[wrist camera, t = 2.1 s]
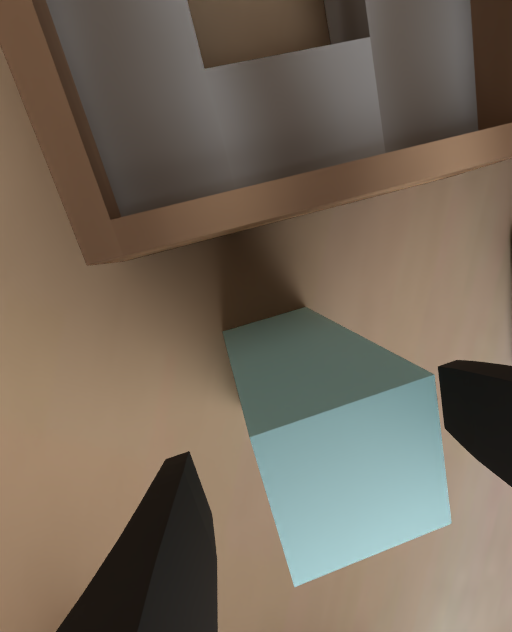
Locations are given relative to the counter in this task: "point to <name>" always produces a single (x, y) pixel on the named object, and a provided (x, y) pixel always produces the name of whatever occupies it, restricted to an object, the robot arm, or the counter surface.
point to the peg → (338, 440)
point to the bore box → (251, 113)
